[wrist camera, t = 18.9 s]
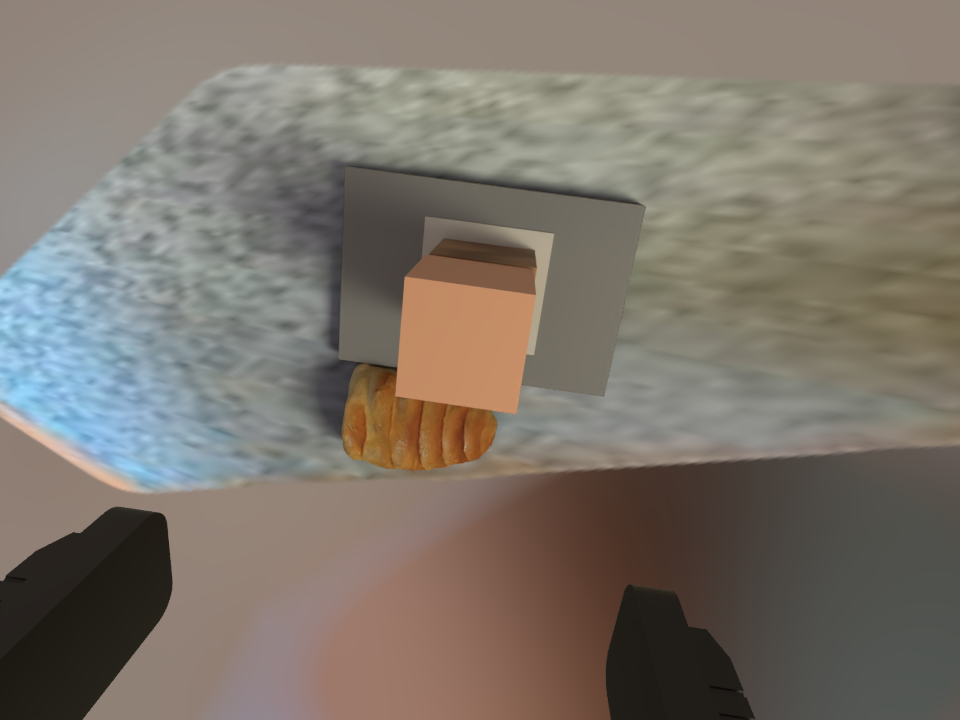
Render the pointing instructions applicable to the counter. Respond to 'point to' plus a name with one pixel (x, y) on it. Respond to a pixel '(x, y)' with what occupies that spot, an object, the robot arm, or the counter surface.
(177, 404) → the counter surface
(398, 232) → the plate
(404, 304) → the terracotta block
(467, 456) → the pastry
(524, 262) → the walnut block
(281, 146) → the counter surface
